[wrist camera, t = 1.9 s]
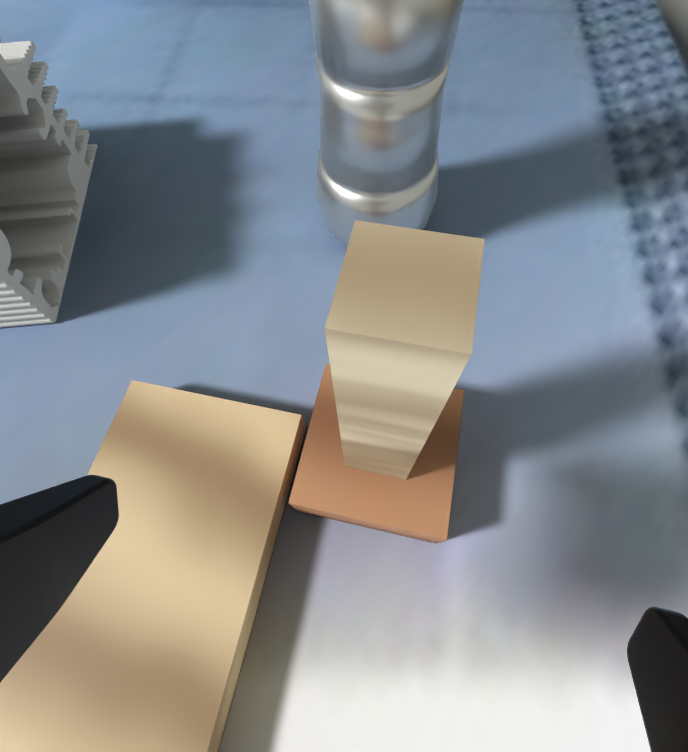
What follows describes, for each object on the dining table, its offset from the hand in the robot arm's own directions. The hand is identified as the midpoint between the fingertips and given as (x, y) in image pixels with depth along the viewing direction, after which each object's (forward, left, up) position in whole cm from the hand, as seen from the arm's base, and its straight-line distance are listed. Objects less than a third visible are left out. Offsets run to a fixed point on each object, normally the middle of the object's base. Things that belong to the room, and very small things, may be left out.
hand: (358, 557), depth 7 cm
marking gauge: (+4, -2, -11) cm, 12 cm away
